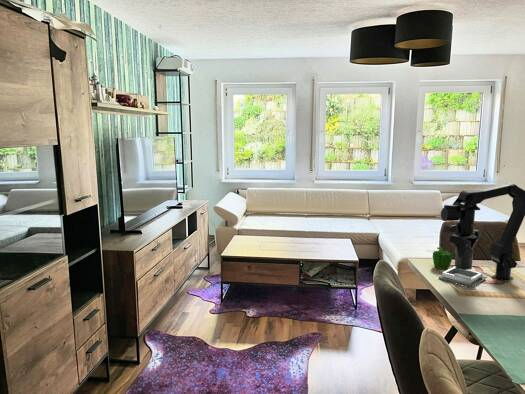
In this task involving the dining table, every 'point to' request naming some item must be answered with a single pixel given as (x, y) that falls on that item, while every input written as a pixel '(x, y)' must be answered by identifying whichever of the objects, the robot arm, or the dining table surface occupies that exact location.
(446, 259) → the bell pepper
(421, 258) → the dining table surface
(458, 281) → the gray square tray
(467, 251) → the supplement bottle
